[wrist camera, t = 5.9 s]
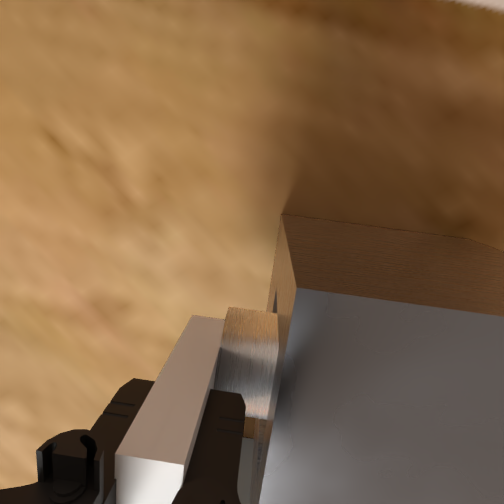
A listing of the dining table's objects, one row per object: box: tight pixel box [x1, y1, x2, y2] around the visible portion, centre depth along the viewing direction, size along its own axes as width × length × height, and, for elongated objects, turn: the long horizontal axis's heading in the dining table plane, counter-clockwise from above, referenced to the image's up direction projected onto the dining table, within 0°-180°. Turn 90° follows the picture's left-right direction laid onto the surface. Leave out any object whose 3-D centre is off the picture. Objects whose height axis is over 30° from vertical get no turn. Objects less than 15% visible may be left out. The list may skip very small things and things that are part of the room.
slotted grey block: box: [250, 214, 504, 504], centre depth 14 cm, size 11×10×12 cm
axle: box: [214, 307, 279, 420], centre depth 12 cm, size 20×4×4 cm, turn 83°
